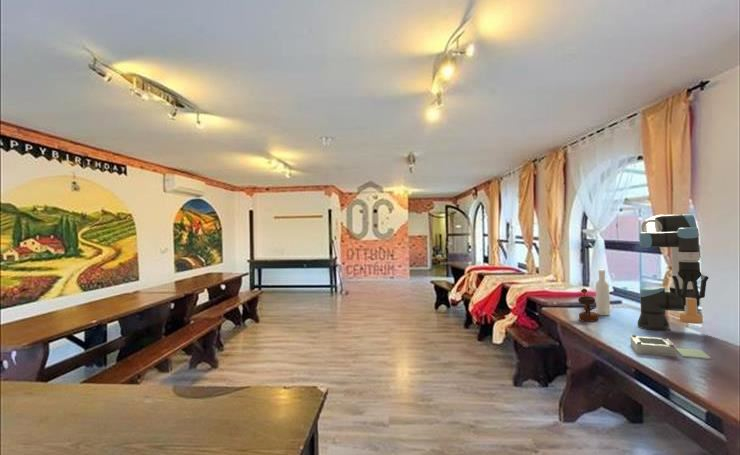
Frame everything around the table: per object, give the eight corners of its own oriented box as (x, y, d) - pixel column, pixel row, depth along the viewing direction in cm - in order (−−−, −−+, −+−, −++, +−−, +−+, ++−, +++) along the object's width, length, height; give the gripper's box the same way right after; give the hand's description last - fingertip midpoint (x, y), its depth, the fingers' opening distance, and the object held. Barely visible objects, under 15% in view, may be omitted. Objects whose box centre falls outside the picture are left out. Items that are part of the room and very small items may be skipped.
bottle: (612, 315, 258) (610, 270, 258) (599, 315, 259) (597, 270, 259) (607, 313, 265) (605, 269, 266) (594, 313, 267) (593, 269, 267)
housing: (630, 344, 195) (630, 334, 195) (667, 347, 188) (667, 337, 188) (636, 353, 181) (636, 342, 181) (676, 357, 175) (676, 345, 175)
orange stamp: (677, 319, 184) (677, 296, 184) (699, 320, 180) (698, 297, 181) (682, 322, 177) (682, 299, 177) (705, 324, 173) (704, 300, 173)
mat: (675, 349, 186) (675, 347, 186) (701, 351, 182) (701, 350, 182) (682, 356, 175) (682, 355, 175) (711, 359, 171) (711, 357, 171)
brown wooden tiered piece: (574, 317, 256) (573, 286, 256) (592, 317, 255) (591, 286, 255) (585, 323, 241) (583, 290, 241) (603, 323, 239) (602, 290, 240)
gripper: (670, 261, 179) (672, 313, 178) (713, 262, 172) (715, 315, 172) (666, 260, 185) (667, 310, 185) (707, 260, 179) (709, 312, 179)
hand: (690, 312), depth 179 cm, fingers closed on orange stamp, 2 cm apart
